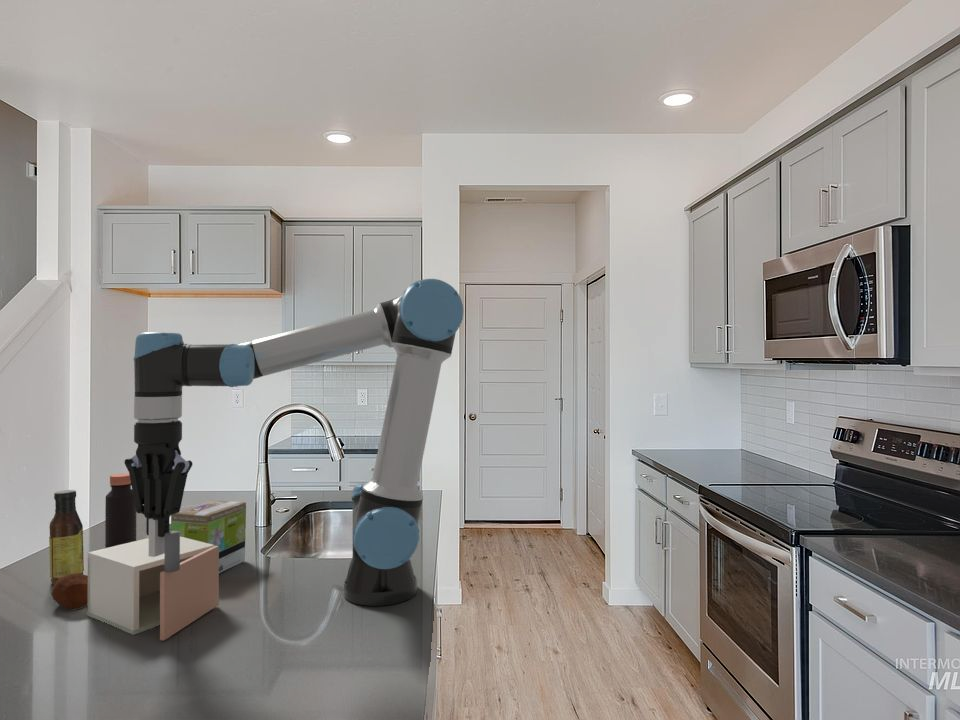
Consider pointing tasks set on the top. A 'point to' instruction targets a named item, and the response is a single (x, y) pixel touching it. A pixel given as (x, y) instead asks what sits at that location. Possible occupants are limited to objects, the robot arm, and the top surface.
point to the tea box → (215, 528)
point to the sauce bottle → (65, 537)
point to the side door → (186, 586)
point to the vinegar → (120, 512)
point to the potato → (71, 591)
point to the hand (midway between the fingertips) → (157, 554)
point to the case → (130, 583)
